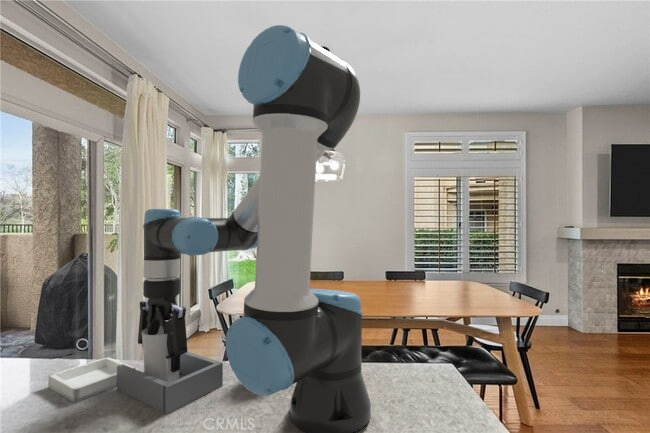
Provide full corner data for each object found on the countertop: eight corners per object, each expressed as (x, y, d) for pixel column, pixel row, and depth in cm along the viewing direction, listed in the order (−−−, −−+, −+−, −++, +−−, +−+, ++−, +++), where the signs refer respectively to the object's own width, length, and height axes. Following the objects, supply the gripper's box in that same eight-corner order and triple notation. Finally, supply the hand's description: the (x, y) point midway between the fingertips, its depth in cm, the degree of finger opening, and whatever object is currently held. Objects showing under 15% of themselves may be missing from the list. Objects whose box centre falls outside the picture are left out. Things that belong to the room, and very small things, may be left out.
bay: (222, 385, 77) (222, 362, 77) (166, 414, 65) (167, 387, 65) (172, 367, 86) (173, 347, 86) (116, 389, 75) (116, 366, 75)
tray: (135, 379, 80) (135, 368, 80) (74, 403, 69) (74, 389, 69) (107, 367, 86) (107, 356, 86) (48, 387, 76) (48, 375, 76)
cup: (165, 394, 73) (166, 336, 73) (132, 390, 74) (133, 334, 75) (187, 377, 81) (188, 325, 81) (157, 374, 82) (158, 323, 82)
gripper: (206, 279, 76) (205, 385, 75) (151, 272, 86) (150, 364, 86) (175, 285, 69) (174, 400, 69) (120, 276, 80) (119, 376, 80)
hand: (161, 380), depth 78 cm, fingers closed on cup, 7 cm apart
